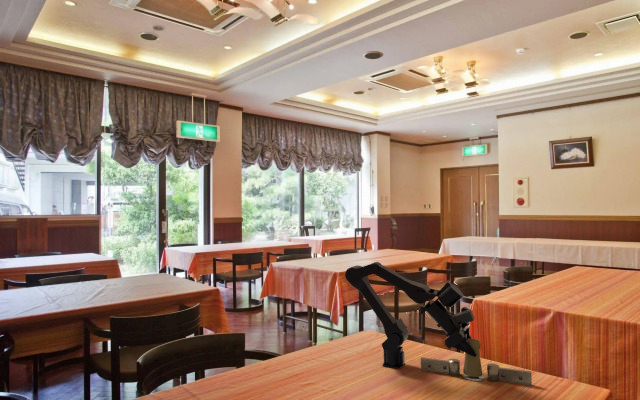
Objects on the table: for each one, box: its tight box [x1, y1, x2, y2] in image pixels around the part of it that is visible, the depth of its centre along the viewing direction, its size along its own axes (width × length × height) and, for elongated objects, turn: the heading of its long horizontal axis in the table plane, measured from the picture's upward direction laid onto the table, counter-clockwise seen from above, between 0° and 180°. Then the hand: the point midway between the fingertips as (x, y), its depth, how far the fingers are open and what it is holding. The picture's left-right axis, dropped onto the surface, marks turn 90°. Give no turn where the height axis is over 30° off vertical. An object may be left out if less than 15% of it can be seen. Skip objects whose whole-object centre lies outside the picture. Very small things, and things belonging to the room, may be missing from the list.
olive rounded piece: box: [462, 337, 483, 377], centre depth 136 cm, size 6×6×11 cm
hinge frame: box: [420, 357, 533, 387], centre depth 136 cm, size 34×7×4 cm, turn 66°
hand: (476, 353), depth 136 cm, fingers closed on olive rounded piece, 5 cm apart
